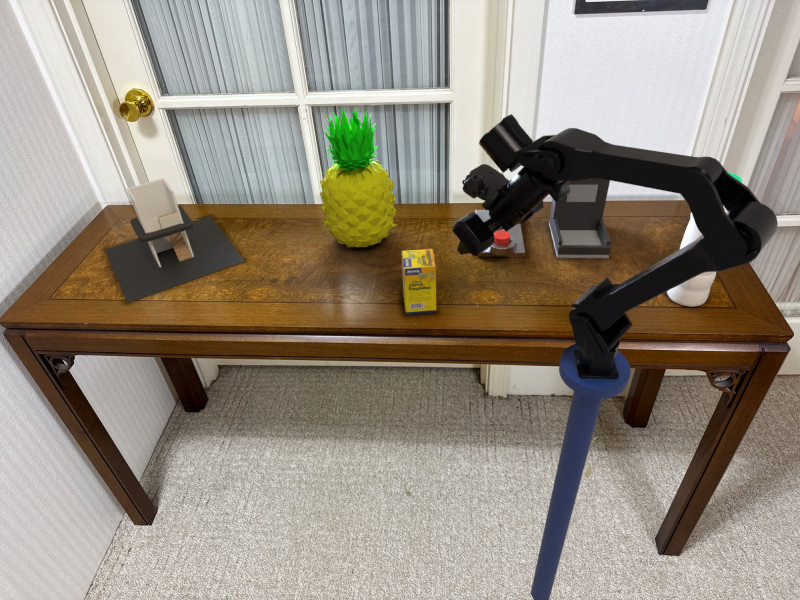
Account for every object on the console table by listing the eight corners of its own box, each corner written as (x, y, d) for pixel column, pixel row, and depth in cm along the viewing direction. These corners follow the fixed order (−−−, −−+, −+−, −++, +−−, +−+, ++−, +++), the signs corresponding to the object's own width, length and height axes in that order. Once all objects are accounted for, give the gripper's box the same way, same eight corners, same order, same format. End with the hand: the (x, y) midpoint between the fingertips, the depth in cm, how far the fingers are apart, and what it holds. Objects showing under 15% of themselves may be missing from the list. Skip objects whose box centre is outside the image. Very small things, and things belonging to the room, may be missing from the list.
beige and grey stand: (127, 303, 114) (96, 234, 104) (104, 249, 131) (76, 185, 120) (244, 261, 124) (227, 194, 114) (210, 216, 140) (192, 154, 130)
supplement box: (437, 313, 107) (436, 266, 100) (405, 315, 107) (403, 268, 100) (433, 294, 112) (432, 247, 105) (403, 296, 112) (400, 250, 105)
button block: (525, 260, 119) (526, 248, 117) (477, 260, 120) (478, 248, 118) (517, 214, 134) (518, 202, 132) (475, 214, 135) (475, 203, 133)
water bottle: (704, 288, 109) (748, 169, 94) (707, 311, 104) (754, 188, 88) (665, 282, 111) (702, 164, 96) (666, 304, 106) (704, 183, 90)
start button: (510, 246, 119) (510, 239, 118) (493, 246, 119) (493, 239, 118) (509, 237, 122) (509, 230, 121) (492, 237, 122) (492, 230, 121)
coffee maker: (608, 258, 118) (621, 198, 110) (557, 258, 119) (566, 199, 111) (596, 224, 129) (607, 167, 120) (548, 223, 130) (556, 167, 121)
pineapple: (320, 260, 123) (298, 126, 104) (329, 220, 136) (311, 95, 117) (396, 258, 122) (388, 123, 103) (399, 218, 135) (391, 92, 116)
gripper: (525, 134, 94) (478, 187, 107) (454, 174, 84) (412, 227, 97) (568, 185, 93) (515, 232, 106) (502, 232, 83) (453, 278, 96)
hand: (475, 240), depth 101 cm, fingers open, 9 cm apart
